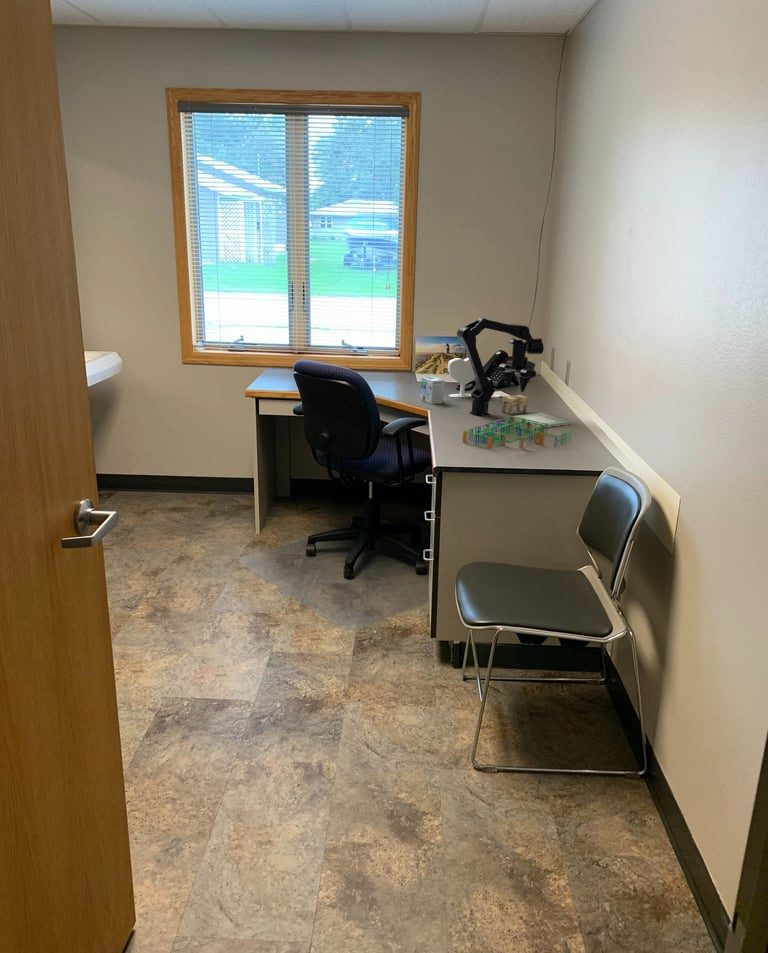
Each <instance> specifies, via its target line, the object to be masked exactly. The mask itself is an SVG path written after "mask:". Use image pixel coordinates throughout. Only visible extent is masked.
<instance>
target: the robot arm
mask: <svg viewBox="0 0 768 953" xmlns="http://www.w3.org/2000/svg"><path fill="white" fill-rule="evenodd" d="M485 329H488V330H492V331H497V332H500V333H501V332H502V333H505V334H508V335H510V336H511V337H512V338H511V339H510V340H509V341H508V342H507V343H508V344H511V345H512V352H511V355H509V359H511V361H510V362H511V363H501V364H499V366H498V371H500V373H501V375H502V377H503V379H504V381H505V384H506V387H507V388H508V389H510V388H511V385H512V378H513V376H514V374H515V373H518V374H519V376H518V378H519V386H520V392H521V393H524V391H525V390H526V388H527V385H528V383H529V382H530V380H532V379H534V378H535V377H537V371H536V369H535V366H536V363H534V362H532V361H529V360H528V356H526V354H527V355H542V354H543V352H544V349H545V347H544V344H543V338H542V337H541V338H540V337H537V338H533V337H532V335H531V333H530V329H529V327H528V325H523V324H520V323H505V322H504V323H503V322H501V321H495V320H490V319H487V318H484V317H479V318H478V319H476V320H474V321H472V322H470V323H468V324H466V325H465V326H464V325H463V326H461V327H459V328H458V329H457V331H456V335H457V338H458V341H459V342H460V343H461V345H462V346H463V347H464V349H465V351H466V354H467V356H468V357H467V358H469V360H470V363H471V366H472V369H473V372H474V374H475V377H476V378H475V384H474V385H475V389H474V390H473V391H472V392H471V393H470V394H471V398H472V402H471V411H469V413H470V414H473V415H475V416H477V417H478V416H488V415H490V414H491V413H490V412H489V402H490V401H491V399H492V396H494V394H495V388H496V386H495V385H494V381H493V379H492V377H491V378H490V377H488V376H487V374H486V372H485V370H484V367H483V363H482V360H481V357H480V354H479V352H478V348H477V336H478V335H480V334H481V332H483V330H485ZM514 337H515V338H514ZM516 338H518V339H516Z"/></svg>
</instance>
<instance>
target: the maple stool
mask: <svg viewBox="0 0 768 953" xmlns="http://www.w3.org/2000/svg"><path fill="white" fill-rule="evenodd" d="M501 401H502V404H501V413H503V414H504V413H506V412H505V411H506V405H507V404H508V410H507V415H508V416H512V410H513V409H512V408H513V407H516V412H520V411H521V410H520V408H521V406H522V414H527V405H528V404H527V403H528V401H529V397H527V396H524V395H522V394H517V395H516V394H515V395H507V396H502V397H501Z"/></svg>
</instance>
